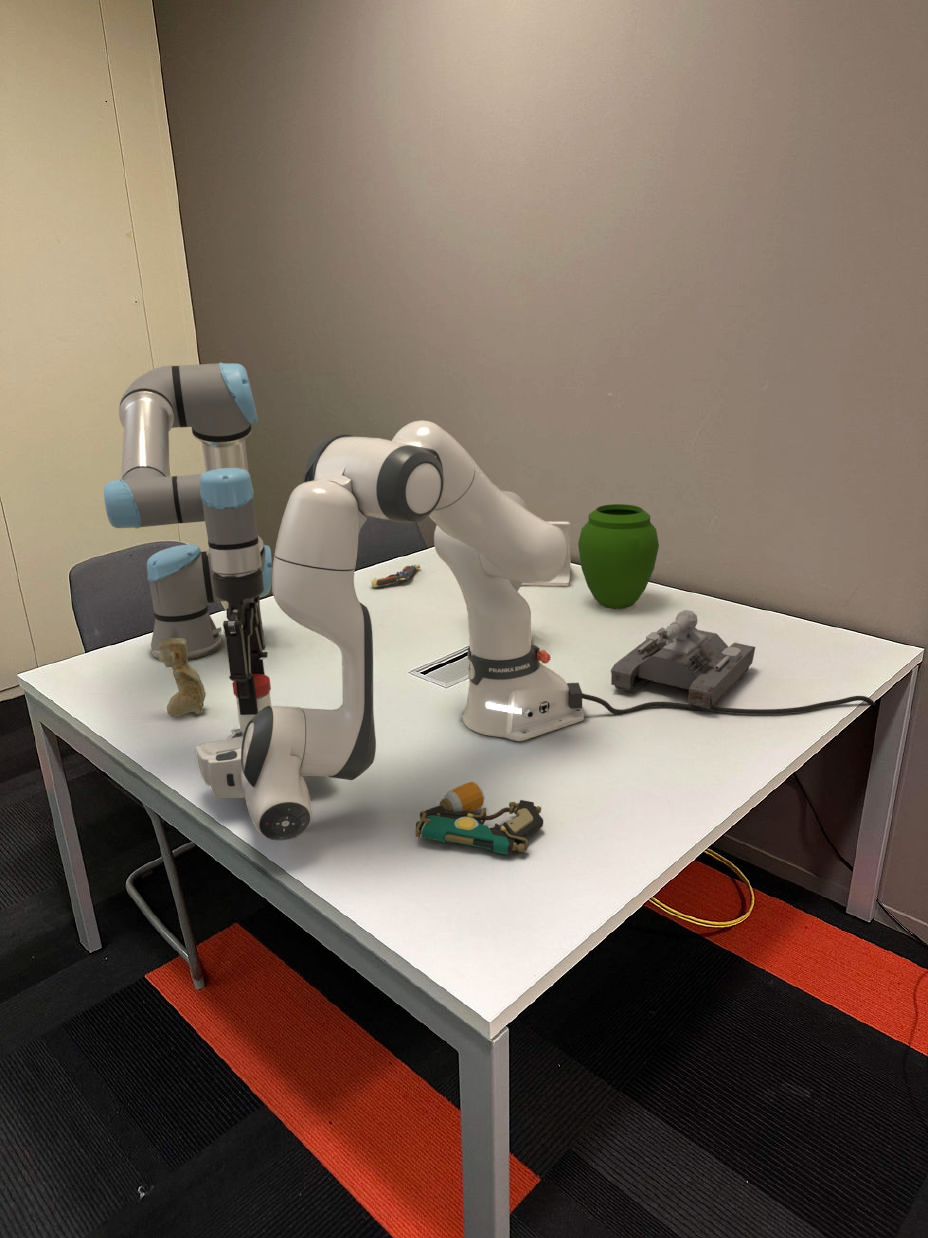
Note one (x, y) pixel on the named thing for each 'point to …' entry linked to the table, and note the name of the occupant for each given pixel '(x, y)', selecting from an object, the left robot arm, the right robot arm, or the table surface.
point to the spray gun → (478, 821)
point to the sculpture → (182, 678)
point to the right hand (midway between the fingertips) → (256, 729)
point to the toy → (685, 662)
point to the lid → (257, 685)
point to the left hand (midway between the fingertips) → (254, 704)
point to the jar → (245, 719)
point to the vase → (618, 554)
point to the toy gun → (396, 576)
